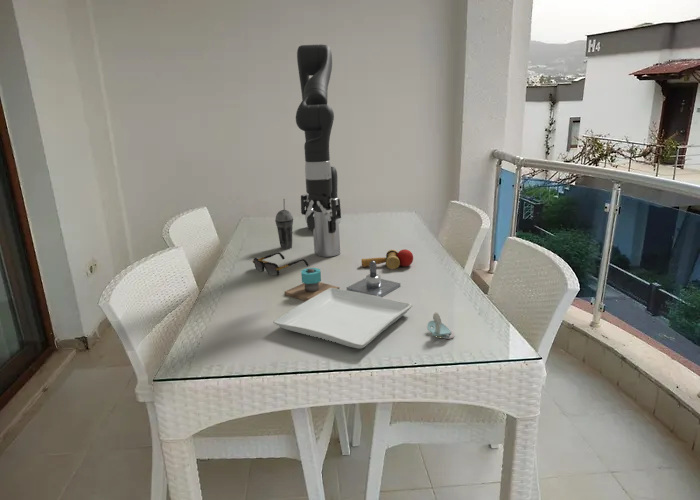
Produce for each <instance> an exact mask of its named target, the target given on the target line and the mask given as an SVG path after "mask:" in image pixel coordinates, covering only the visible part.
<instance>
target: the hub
mask: <svg viewBox="0 0 700 500" xmlns="http://www.w3.org/2000/svg"><path fill="white" fill-rule="evenodd" d="M400 287H401V282H398V281H397V282H396V281H393V280H388V279H384V278H381V274H377V264H376V262H375V261H371V262H370V266H369V274H367V275H366V277H365V278H363V279H361V280H359V281H357V282H355V283H353V284H351V285H349V286H347V287H346V290H348V291H353V292H359V293H364V294H369V295H374V296H378V297H384V296H386V295H387V294H390V293H391V292H393V291H395V290H396V289H398V288H400Z"/></svg>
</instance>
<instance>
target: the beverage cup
mask: <svg viewBox="0 0 700 500" xmlns="http://www.w3.org/2000/svg"><path fill="white" fill-rule="evenodd" d="M285 200H286V199H285V198H283V209H281V210H278V212H277V213H276V216H275V221H274V222H275V224H276V229H277V235H278V241H279V246H280V249H281V250H290V248H291V249H292V248H293V224H294V218H293V214H292V212H290V211H289V210H286V204H285V203H286V201H285Z"/></svg>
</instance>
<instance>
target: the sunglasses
mask: <svg viewBox="0 0 700 500" xmlns="http://www.w3.org/2000/svg"><path fill="white" fill-rule="evenodd" d="M276 255H279V256H280V258H281V260H284V259H285V256H284V255H283V253H281V252H275V253H272V254H268V255H265V256H261V257H259V258H257V257H254V258H253V260H252V263H253V264H254V267H255V269H256V270H258V271H259V272H264V271H265V270H266V273H267V274H268V275H273V276H276V277H277V276H279V275H280V270H283V269H286V268H289V267H291V266H293V265H296V264H298V263H301V262H304V264H305V266H306V267H310V265H309V262H308V261H307V260H306V259H304V258H301V259H298V260H295V261H293V262H289V263H287V264H284V265H282V266H278V264H277V263H275V262H270V261H266V260H267V259H269V258H272V257H273V256H276Z"/></svg>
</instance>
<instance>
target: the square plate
mask: <svg viewBox="0 0 700 500" xmlns="http://www.w3.org/2000/svg"><path fill="white" fill-rule="evenodd" d="M412 308H413V304H412V303H409V302H404V301H400V300H395V299H391V298H386V297H384V296H382V297H378V296H374V295H369V294H364V293H359V292H353V291H348V290H347V289H341V288H339V289H336V288H329V289H327V290H325V291H324V292H322V293H320V294H318V295H316V296H314V297H313V298H311V299H309V300H307V301H304V302H302V303H300V304H299V305H297V306H296V307H294V308H292V309H291V310H288V311H287V312H286V313H284V314H283V315H281V316H279V317H277V318H275V319H274V320H273V321H272V323H273V324H275V325H276V326H278V327H280V328H282V329H284V330H287V331H290V332H295V333H299V334H302V335H305V334H306V336H309V335H310V336H309V337H313V336H314V337H313V338H316V337H318V338H317V339H320V338H322V339H321V340H324V339H325V340H324V341H328V340H329V341H328V342H331V341H332V343H335V342H336V343H335V344H340V345H341V346H346V347H350V348H353V349H360V350H361V349H363V348H364V347H366V346H368V345H369V344H370V343H371V342H372V341H373V340H374V339H375V338H377V337H378V336H379V335H380V334H381V333H382V332H383V331H385V330H386V329H387V328H389V327H390V326H391V325H393V324H395V323H396V322H397V321H398V320H399V319H401V318H402V317H403V316H404V315H405V314H406V313H408V312H409V310H410V309H412Z"/></svg>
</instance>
